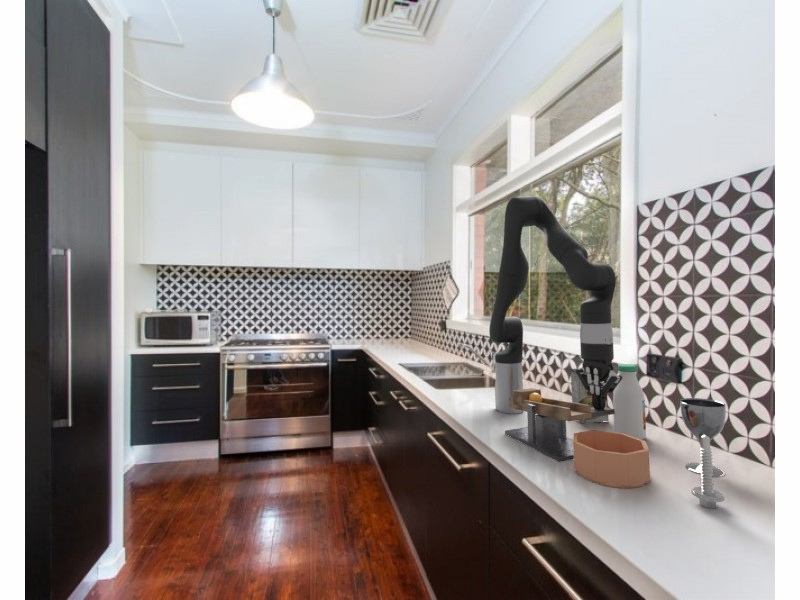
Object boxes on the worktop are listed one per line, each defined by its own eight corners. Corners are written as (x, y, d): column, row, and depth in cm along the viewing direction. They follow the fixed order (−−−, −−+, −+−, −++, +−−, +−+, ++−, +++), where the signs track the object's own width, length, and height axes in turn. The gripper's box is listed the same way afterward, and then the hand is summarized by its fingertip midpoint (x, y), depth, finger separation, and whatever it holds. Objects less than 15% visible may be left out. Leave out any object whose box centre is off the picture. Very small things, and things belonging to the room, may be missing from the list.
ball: (527, 406, 110) (525, 393, 111) (537, 405, 111) (535, 392, 112) (535, 406, 106) (533, 393, 107) (546, 405, 108) (543, 391, 109)
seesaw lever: (507, 408, 115) (505, 390, 115) (549, 402, 120) (547, 385, 120) (566, 421, 92) (563, 399, 93) (614, 413, 97) (612, 392, 98)
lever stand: (504, 434, 113) (503, 396, 113) (538, 428, 117) (537, 392, 117) (559, 462, 93) (557, 416, 93) (597, 454, 97) (596, 410, 97)
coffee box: (600, 417, 127) (598, 367, 127) (609, 423, 120) (607, 371, 120) (571, 417, 128) (570, 368, 128) (578, 423, 121) (576, 371, 121)
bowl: (560, 465, 90) (559, 435, 90) (607, 456, 95) (606, 427, 95) (613, 493, 77) (611, 458, 77) (664, 480, 82) (663, 447, 82)
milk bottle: (640, 443, 103) (637, 368, 103) (609, 436, 109) (607, 365, 109) (650, 436, 108) (647, 364, 108) (620, 430, 114) (617, 361, 114)
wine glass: (717, 481, 81) (714, 409, 81) (675, 467, 88) (672, 401, 88) (735, 472, 84) (732, 403, 85) (694, 459, 91) (691, 396, 92)
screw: (691, 506, 71) (692, 495, 75) (725, 515, 68) (724, 503, 72) (688, 435, 72) (689, 428, 75) (722, 441, 68) (722, 433, 72)
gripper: (565, 340, 104) (568, 404, 104) (606, 344, 92) (609, 417, 91) (587, 338, 107) (589, 401, 106) (630, 342, 94) (633, 413, 94)
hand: (599, 408), depth 99 cm, fingers closed
